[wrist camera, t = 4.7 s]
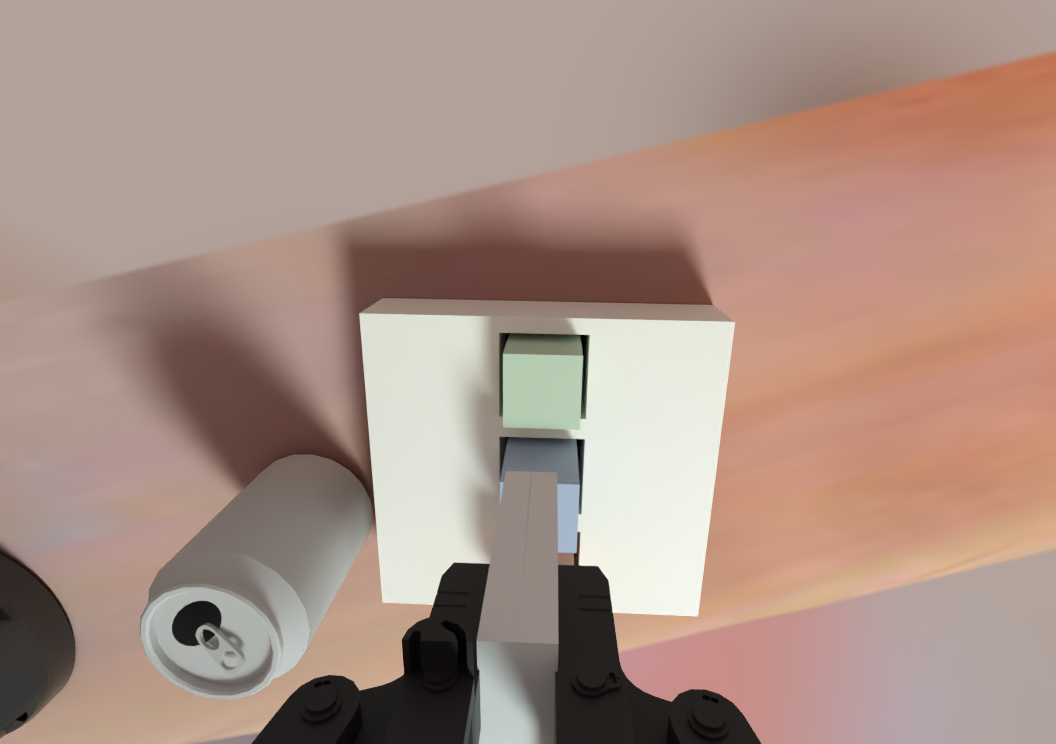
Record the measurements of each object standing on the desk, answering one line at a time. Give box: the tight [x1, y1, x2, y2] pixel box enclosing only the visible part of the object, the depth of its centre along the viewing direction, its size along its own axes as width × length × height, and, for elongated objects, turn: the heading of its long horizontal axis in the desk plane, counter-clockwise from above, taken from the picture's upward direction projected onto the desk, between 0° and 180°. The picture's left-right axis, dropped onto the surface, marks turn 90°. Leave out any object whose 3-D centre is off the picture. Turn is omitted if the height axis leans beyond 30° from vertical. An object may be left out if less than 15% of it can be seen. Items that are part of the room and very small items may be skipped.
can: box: [140, 454, 373, 699], centre depth 30 cm, size 8×8×12 cm
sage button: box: [503, 333, 583, 430], centre depth 29 cm, size 4×4×5 cm
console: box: [359, 298, 735, 616], centre depth 32 cm, size 18×17×4 cm
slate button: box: [500, 437, 580, 553], centre depth 29 cm, size 4×4×5 cm
